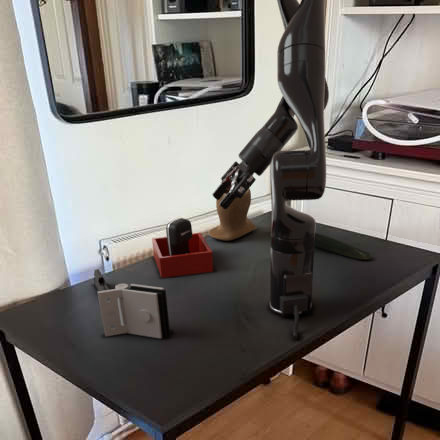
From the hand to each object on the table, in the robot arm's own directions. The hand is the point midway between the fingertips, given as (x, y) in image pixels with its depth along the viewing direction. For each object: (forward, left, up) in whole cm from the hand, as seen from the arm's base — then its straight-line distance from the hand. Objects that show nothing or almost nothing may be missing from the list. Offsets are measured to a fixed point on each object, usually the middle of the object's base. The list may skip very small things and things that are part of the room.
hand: (218, 202), depth 145 cm
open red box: (0, +11, -15) cm, 19 cm away
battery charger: (0, +11, -15) cm, 18 cm away
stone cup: (+17, -8, -15) cm, 24 cm away
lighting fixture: (-16, +32, -15) cm, 39 cm away
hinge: (-36, +27, -15) cm, 47 cm away
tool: (-2, -29, -15) cm, 33 cm away
